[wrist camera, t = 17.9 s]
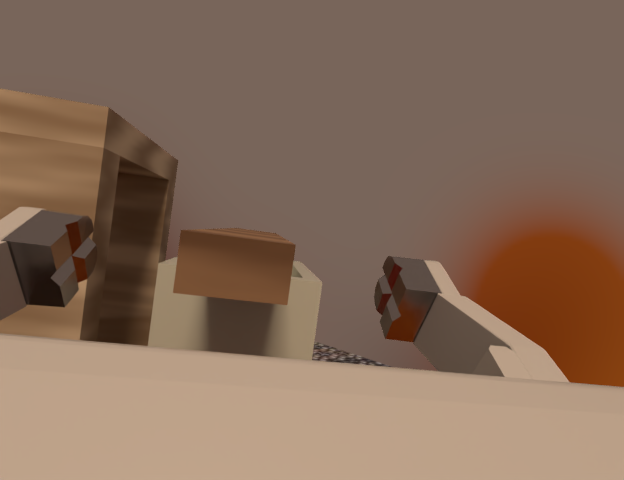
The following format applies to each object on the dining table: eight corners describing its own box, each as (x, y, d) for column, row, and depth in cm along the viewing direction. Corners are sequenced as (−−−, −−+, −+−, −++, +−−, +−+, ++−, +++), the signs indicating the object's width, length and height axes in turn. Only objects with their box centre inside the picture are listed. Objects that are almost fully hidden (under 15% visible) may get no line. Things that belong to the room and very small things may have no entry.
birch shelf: (44, 619, 18) (108, 107, 17) (-115, 622, 17) (-51, 79, 16) (140, 447, 32) (178, 160, 31) (56, 443, 31) (93, 147, 30)
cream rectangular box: (279, 596, 20) (322, 282, 20) (115, 598, 19) (158, 263, 19) (273, 460, 32) (300, 261, 32) (172, 456, 31) (199, 249, 31)
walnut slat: (287, 305, 13) (295, 244, 13) (172, 293, 12) (181, 229, 12) (272, 254, 36) (275, 233, 36) (233, 249, 36) (236, 228, 36)
